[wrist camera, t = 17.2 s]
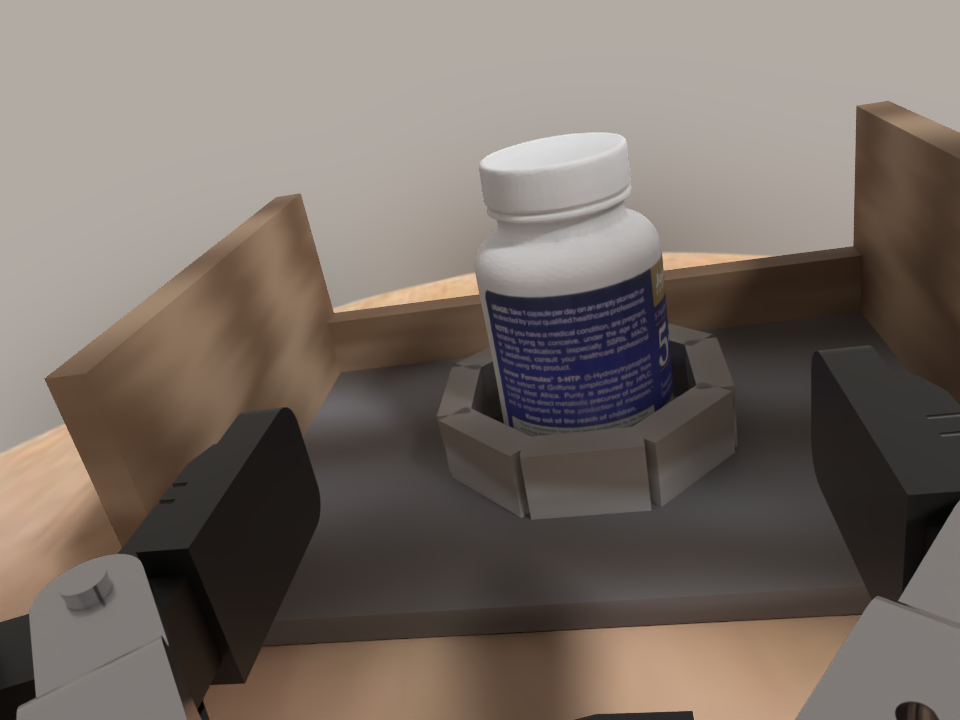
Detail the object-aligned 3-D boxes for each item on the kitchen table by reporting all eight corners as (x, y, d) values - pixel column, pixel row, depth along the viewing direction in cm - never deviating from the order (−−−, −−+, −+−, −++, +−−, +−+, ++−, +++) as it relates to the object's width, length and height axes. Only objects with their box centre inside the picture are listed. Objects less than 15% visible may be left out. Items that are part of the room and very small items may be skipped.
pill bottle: (709, 451, 23) (689, 141, 19) (537, 503, 22) (481, 190, 18) (633, 378, 28) (605, 117, 24) (489, 419, 27) (437, 156, 23)
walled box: (1119, 599, 17) (1197, 238, 13) (169, 651, 21) (44, 378, 17) (879, 317, 30) (887, 100, 27) (329, 380, 34) (276, 197, 31)
